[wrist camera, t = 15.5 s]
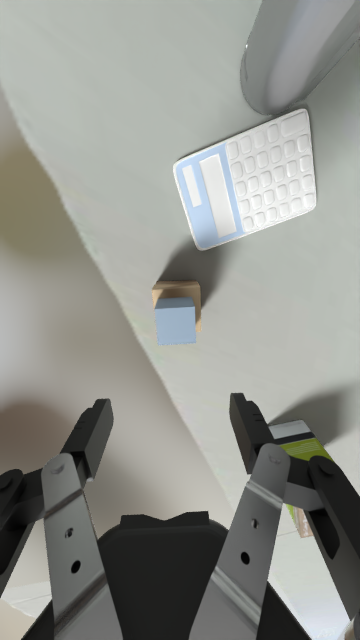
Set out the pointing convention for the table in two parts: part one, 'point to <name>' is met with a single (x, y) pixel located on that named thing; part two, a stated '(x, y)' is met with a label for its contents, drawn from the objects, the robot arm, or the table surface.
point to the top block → (180, 291)
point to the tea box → (301, 446)
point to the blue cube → (175, 321)
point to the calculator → (248, 181)
